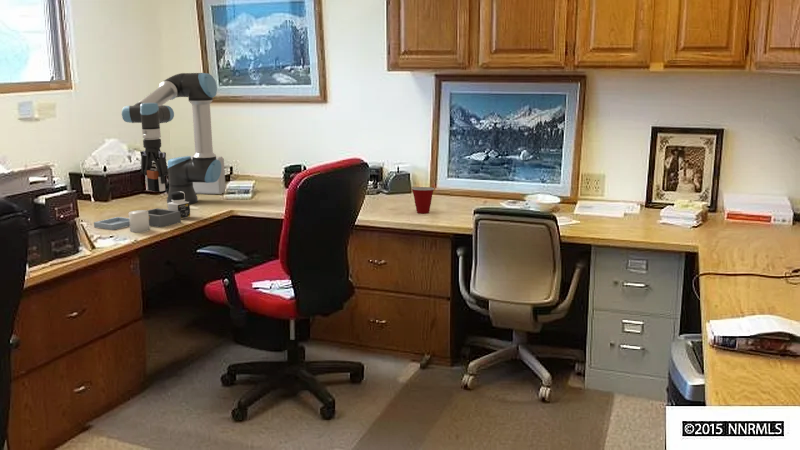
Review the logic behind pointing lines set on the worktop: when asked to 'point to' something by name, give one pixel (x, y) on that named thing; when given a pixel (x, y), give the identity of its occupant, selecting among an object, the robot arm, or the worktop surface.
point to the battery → (153, 180)
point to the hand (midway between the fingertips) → (156, 190)
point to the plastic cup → (422, 199)
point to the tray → (112, 223)
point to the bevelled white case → (214, 187)
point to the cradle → (163, 217)
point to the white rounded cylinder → (139, 221)
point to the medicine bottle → (179, 204)
